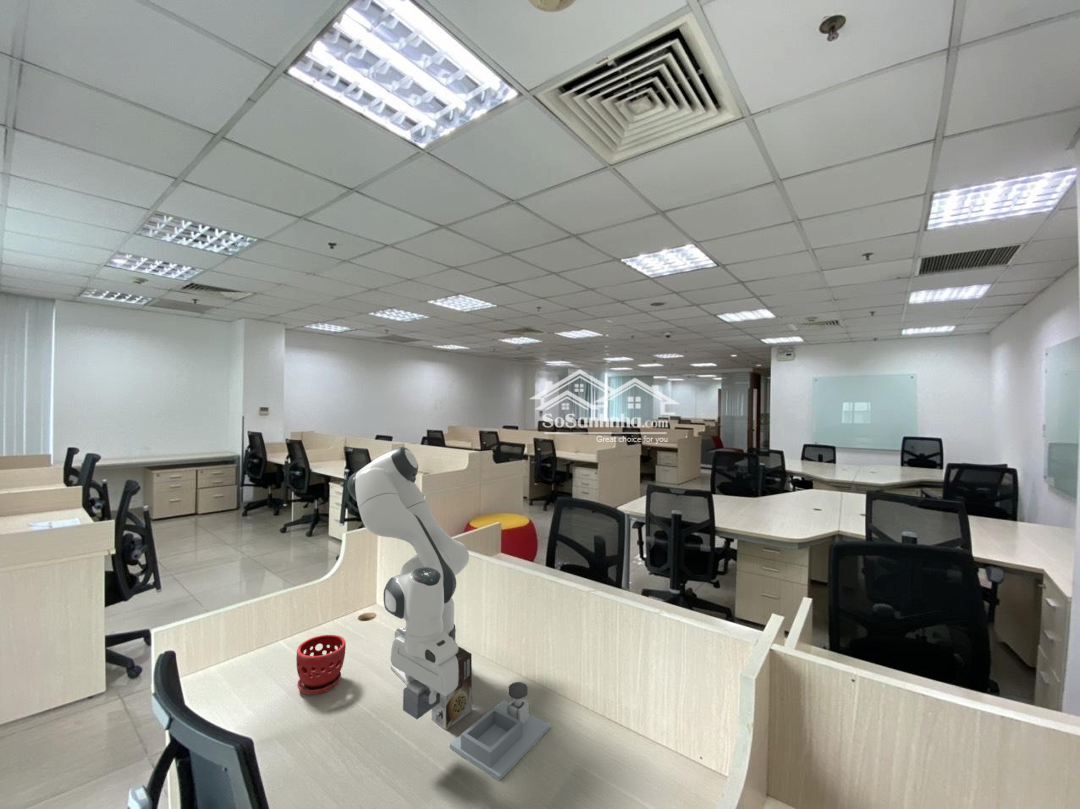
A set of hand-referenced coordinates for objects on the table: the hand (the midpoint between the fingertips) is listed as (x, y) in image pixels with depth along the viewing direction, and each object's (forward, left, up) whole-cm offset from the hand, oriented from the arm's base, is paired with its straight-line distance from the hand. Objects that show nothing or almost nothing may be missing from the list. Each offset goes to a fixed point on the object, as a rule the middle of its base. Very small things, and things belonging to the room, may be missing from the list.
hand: (421, 696), depth 106 cm
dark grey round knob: (+12, +22, -9) cm, 27 cm away
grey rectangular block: (0, 0, -3) cm, 2 cm away
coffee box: (-4, +13, -14) cm, 20 cm away
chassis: (+12, +15, -14) cm, 24 cm away
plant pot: (-45, -1, -14) cm, 47 cm away
